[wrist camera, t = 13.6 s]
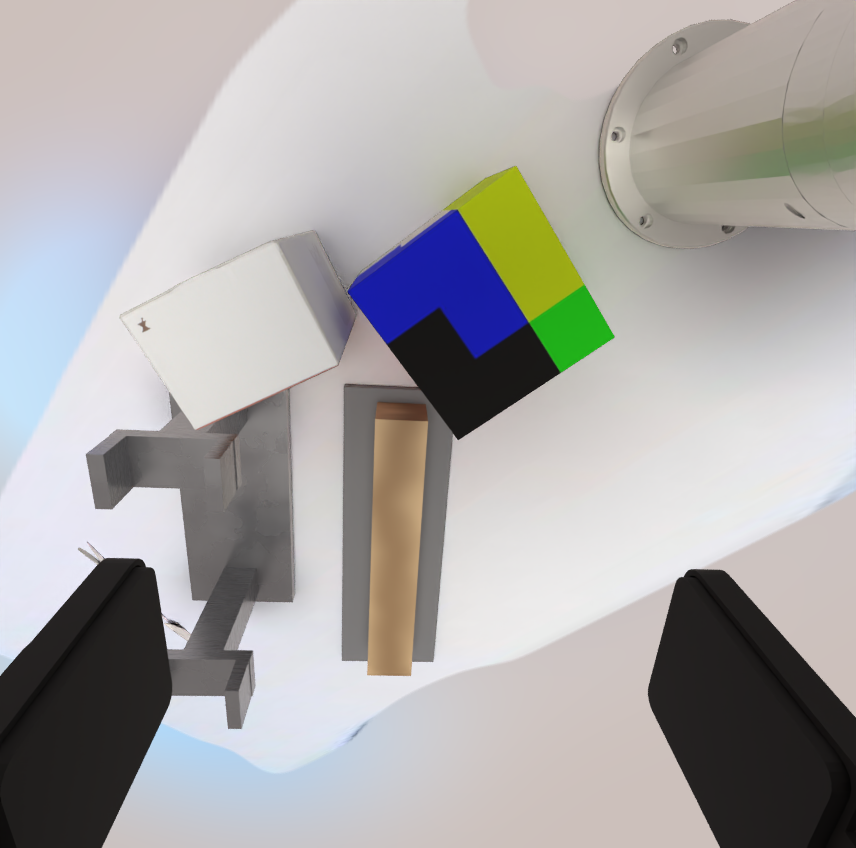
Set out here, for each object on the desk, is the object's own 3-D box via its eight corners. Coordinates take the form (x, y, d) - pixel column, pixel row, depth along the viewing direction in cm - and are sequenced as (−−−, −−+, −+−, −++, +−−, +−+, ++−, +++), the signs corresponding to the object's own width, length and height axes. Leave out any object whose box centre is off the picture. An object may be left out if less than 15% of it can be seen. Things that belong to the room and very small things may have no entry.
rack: (288, 375, 39) (236, 450, 27) (294, 594, 46) (256, 734, 33) (172, 369, 38) (65, 444, 26) (196, 592, 45) (120, 734, 33)
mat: (455, 389, 40) (456, 391, 39) (432, 656, 49) (433, 661, 48) (345, 384, 39) (344, 386, 39) (342, 655, 48) (341, 660, 48)
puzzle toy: (360, 271, 37) (347, 291, 27) (485, 178, 35) (516, 165, 26) (444, 387, 40) (458, 440, 31) (562, 306, 38) (614, 337, 29)
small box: (257, 364, 39) (191, 434, 26) (207, 280, 36) (111, 314, 24) (360, 316, 38) (342, 366, 26) (316, 227, 36) (273, 235, 23)
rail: (425, 404, 40) (428, 421, 36) (410, 643, 47) (410, 675, 44) (377, 402, 39) (375, 419, 36) (369, 643, 47) (367, 675, 44)
